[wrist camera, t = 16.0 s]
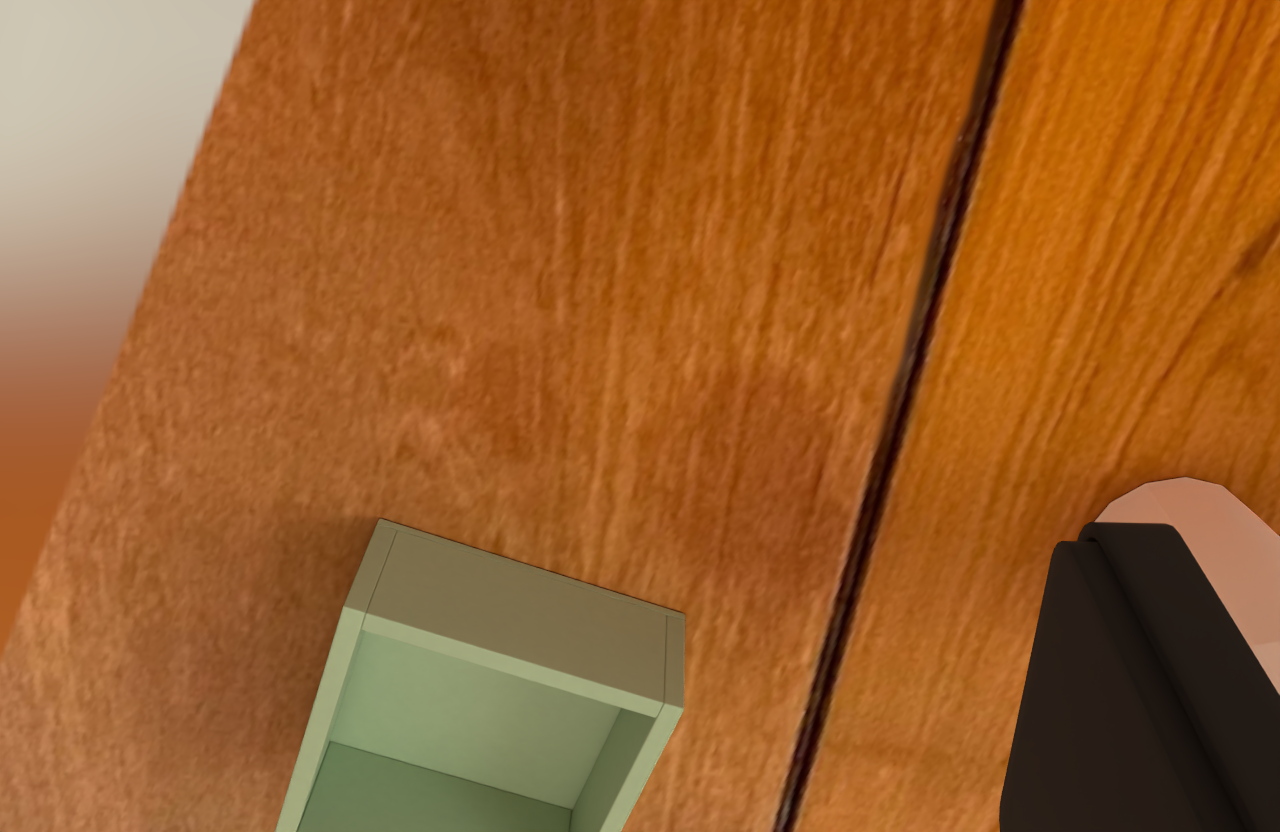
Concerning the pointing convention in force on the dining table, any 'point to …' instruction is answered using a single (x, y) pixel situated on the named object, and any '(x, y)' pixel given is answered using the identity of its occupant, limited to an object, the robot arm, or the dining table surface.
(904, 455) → the dining table surface
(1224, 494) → the foam cup
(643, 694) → the bin
